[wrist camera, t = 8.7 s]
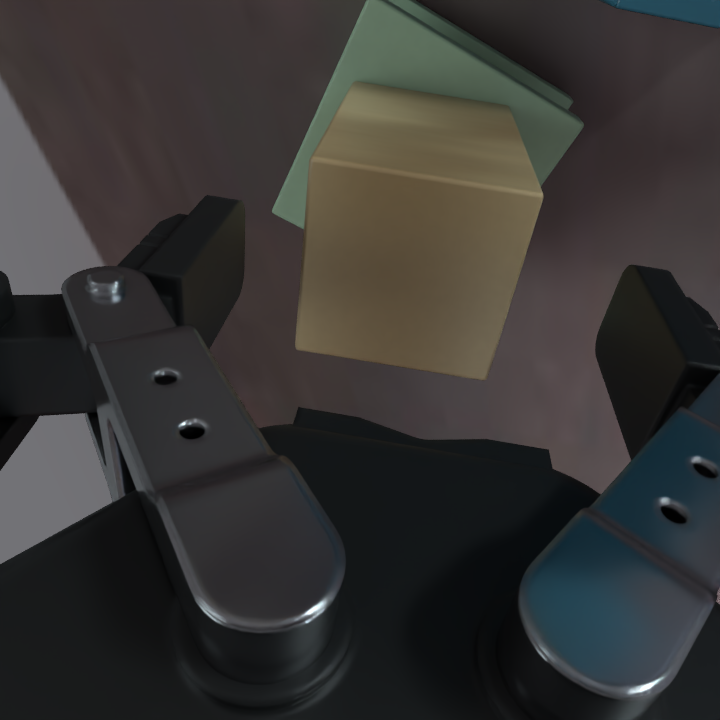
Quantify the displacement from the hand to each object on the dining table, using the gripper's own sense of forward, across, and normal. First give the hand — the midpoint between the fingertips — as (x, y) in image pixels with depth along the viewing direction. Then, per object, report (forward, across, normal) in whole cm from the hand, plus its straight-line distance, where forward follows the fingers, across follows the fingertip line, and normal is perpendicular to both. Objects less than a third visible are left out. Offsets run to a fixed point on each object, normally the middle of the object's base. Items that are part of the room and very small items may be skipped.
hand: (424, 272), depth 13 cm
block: (+6, 0, 0) cm, 6 cm away
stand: (+10, 0, 0) cm, 10 cm away
